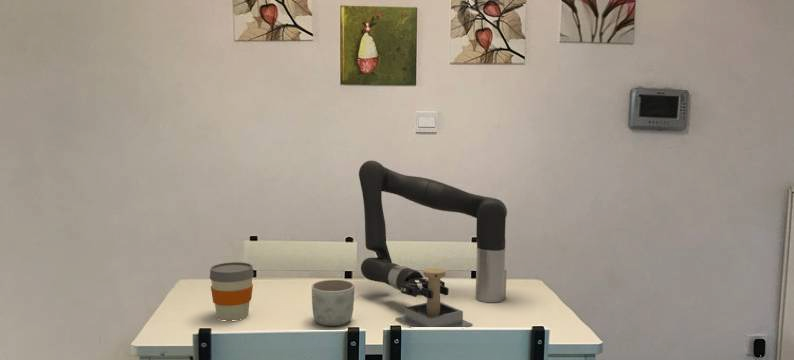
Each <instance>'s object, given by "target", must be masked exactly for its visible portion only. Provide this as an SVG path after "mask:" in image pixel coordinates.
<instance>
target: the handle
mask: <svg viewBox="0 0 794 360" xmlns="http://www.w3.org/2000/svg"><path fill="white" fill-rule="evenodd" d="M422 271H423V273H422V276H423V277H424V278H426V279H428V290H431V291H432V292H433V298H432V299H429V298H427V297H426V303H427V315H428V316H429V317H435V316H439V313H440V302H441V293H440V280H442V278H444V277H445V276H446V274H447V273H446V270H445V269H443V268H426V269H422Z"/></svg>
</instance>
